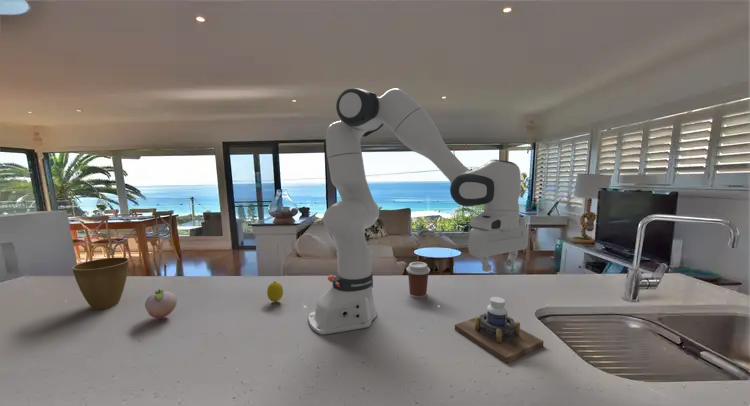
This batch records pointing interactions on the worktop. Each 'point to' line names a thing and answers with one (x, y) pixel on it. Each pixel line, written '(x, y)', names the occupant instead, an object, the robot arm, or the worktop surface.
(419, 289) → the coffee cup
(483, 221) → the robot arm
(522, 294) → the worktop surface
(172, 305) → the decorative fruit
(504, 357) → the collar stand
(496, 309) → the pill bottle
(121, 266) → the plant pot
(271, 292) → the lemon
